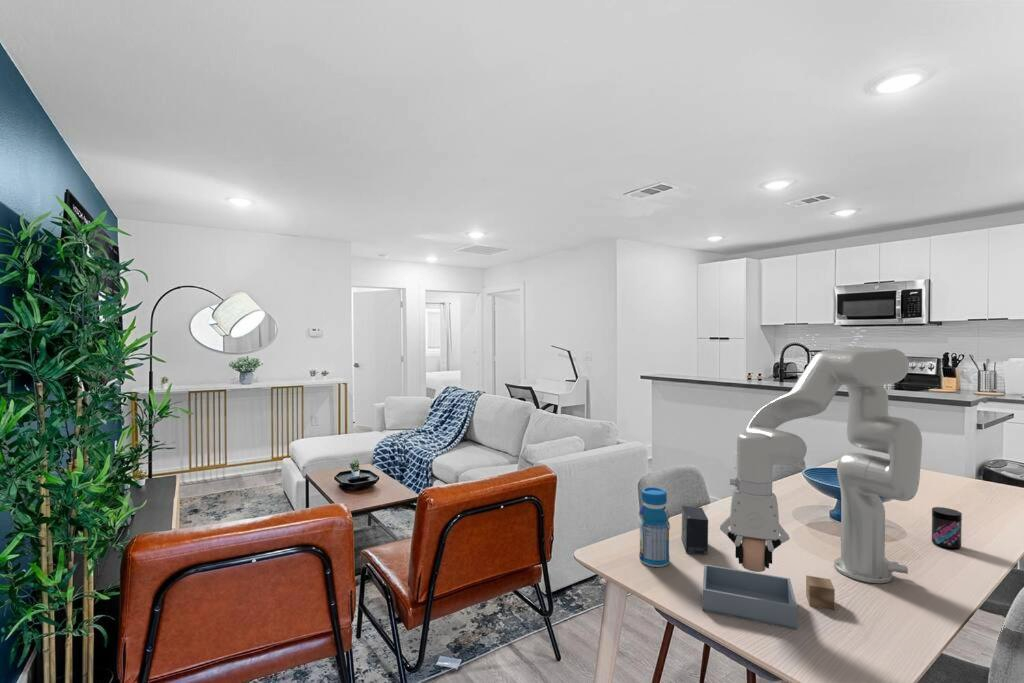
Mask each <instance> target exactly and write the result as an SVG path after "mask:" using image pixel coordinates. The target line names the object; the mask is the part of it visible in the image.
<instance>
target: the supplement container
mask: <svg viewBox="0 0 1024 683" xmlns="http://www.w3.org/2000/svg"><path fill="white" fill-rule="evenodd" d="M962 522H963V513H962V512H960V511H959V510H957V509H953V508H949V507H941V506H940V507H939V506H934V507H932V508H931V543H932V544H933V545H935V546H936V547H939V548H940V549H945V550H949V551H958V550H960V549H961V548H962V526H963V525H962Z"/></svg>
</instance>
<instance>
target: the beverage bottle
mask: <svg viewBox="0 0 1024 683" xmlns="http://www.w3.org/2000/svg"><path fill="white" fill-rule="evenodd" d="M667 498H668V497H667V491H666V490H665V489H663V488H660V487H653V486H651V487H644V488H643V489H641V502H642V503H643V504H642V505H641V507H640V508H639V511H638V514H639V517H640V518H639V520H638V527H639V553H638V554H639V557H638V558H639V560H640V562H641V563H643V564H644V565H645V566H649V567H653V568H654V567H655V568H663V567H666V566H667V565H669V563H670V528H671V524H670V521H669V519H670V513H669V510H668V508H667V507H666V504H667V502H668V501H667Z"/></svg>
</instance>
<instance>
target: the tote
mask: <svg viewBox="0 0 1024 683" xmlns="http://www.w3.org/2000/svg"><path fill="white" fill-rule="evenodd" d="M702 578H703V579H702V611H703V612H705V613H706V612H707V613H712V614H717V615H722V616H727V617H731V618H738V619H742V620H747V621H751V622H752V621H753V622H756V623H757V622H758V623H761V624H768V625H771V626H777V627H781V628H786V629H787V628H788V629H793V630H796V631H797V630H799V629H798V620H799V619H798V618H799V617H798V616H799V615H798V614H799V613H798V610H799V608H798V604H797V600H796V596H795V592H794V589H793V585H792V582H791V578H790V577H789V578H788V577H785V576H784V577H783V576H778V575H771V574H766V573H761V572H754V571H749V570H741V569H734V568H728V567H723V566H719V565H717V566H716V565H712V564H711V565H710V564H705V563H704V565H703V576H702Z"/></svg>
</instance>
